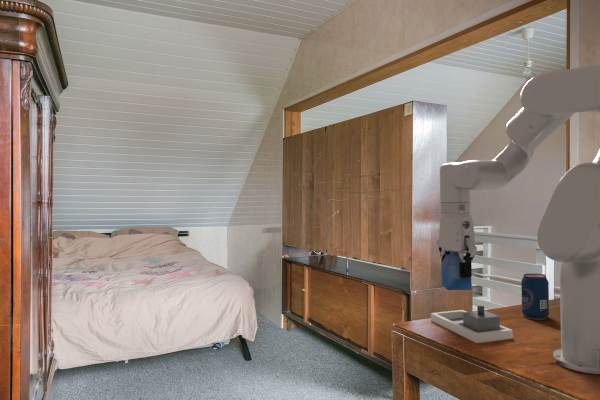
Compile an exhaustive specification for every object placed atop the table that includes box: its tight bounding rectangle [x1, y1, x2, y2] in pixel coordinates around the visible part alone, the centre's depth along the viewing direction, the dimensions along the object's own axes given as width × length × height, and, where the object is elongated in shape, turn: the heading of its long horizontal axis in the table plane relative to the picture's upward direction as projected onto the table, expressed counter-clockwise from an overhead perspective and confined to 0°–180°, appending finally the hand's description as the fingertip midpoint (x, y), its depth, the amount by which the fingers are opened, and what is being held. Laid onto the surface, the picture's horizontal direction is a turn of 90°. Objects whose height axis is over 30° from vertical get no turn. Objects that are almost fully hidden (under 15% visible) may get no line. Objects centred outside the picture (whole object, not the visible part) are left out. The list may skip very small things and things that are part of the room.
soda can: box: [520, 273, 550, 321], centre depth 130 cm, size 7×7×12 cm
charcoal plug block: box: [463, 305, 501, 333], centre depth 112 cm, size 6×6×7 cm
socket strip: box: [430, 309, 514, 344], centre depth 117 cm, size 20×10×3 cm, turn 15°
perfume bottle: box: [441, 251, 472, 291], centre depth 122 cm, size 6×6×12 cm
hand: (456, 274), depth 122 cm, fingers closed on perfume bottle, 7 cm apart
